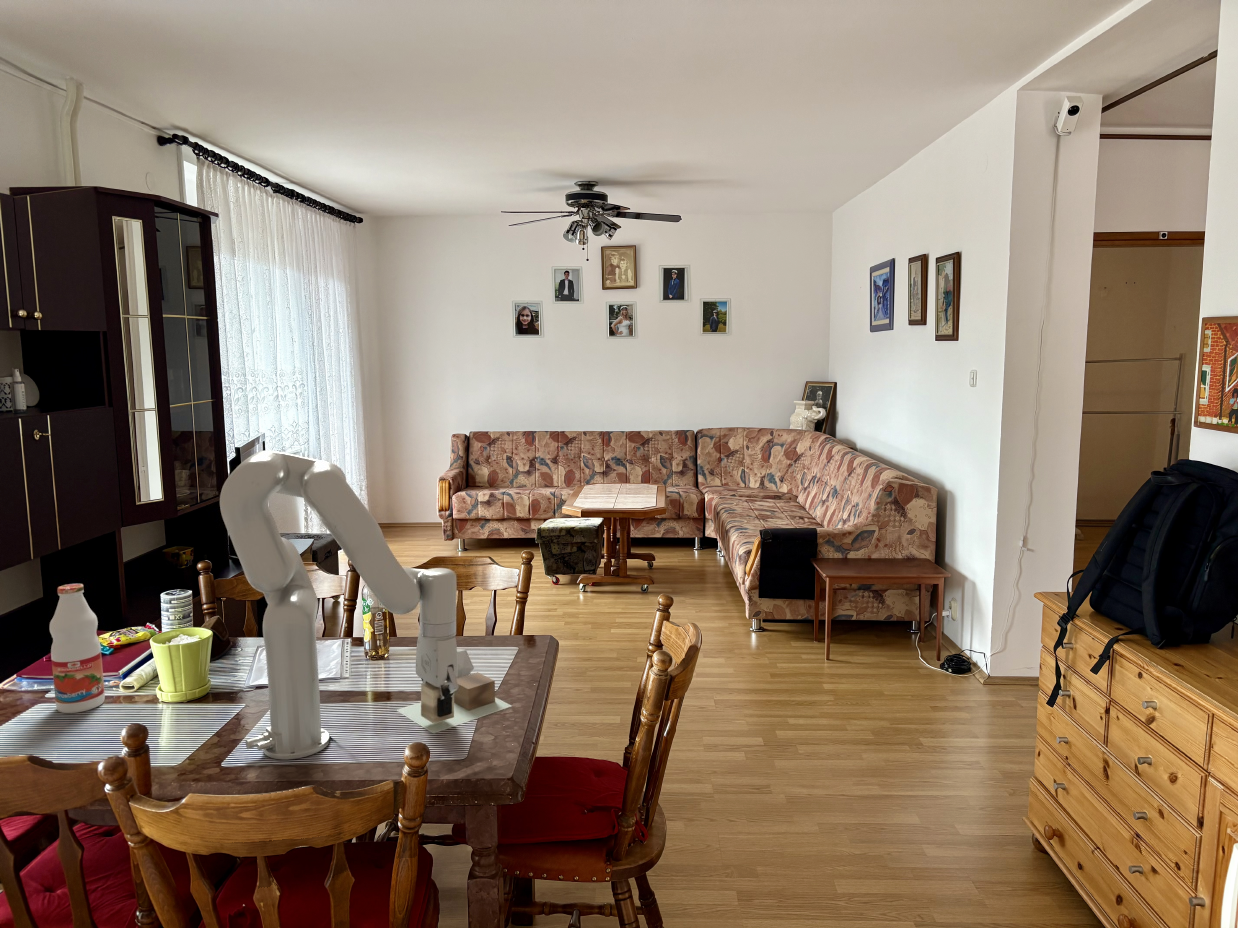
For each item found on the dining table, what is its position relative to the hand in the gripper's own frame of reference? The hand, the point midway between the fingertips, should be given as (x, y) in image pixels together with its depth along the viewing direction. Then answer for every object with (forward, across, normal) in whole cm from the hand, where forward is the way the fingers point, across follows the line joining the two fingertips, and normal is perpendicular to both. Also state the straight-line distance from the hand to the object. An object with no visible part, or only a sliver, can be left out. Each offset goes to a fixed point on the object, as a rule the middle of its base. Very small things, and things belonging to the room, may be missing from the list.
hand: (437, 709), depth 176 cm
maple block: (+1, 0, 0) cm, 1 cm away
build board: (+4, -4, +7) cm, 9 cm away
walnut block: (+3, -4, +12) cm, 13 cm away
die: (+4, -20, +17) cm, 27 cm away
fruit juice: (+7, -66, -53) cm, 85 cm away
